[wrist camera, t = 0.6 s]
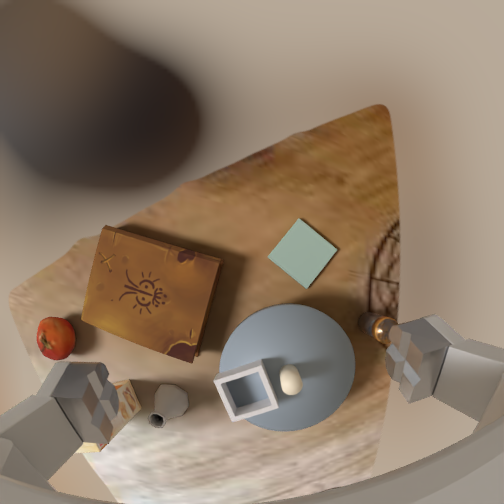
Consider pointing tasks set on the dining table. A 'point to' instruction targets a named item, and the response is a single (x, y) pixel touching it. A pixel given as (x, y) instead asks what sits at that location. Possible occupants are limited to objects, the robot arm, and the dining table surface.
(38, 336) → the tomato
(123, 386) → the coffeecake box
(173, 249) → the diary
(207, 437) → the dining table surface
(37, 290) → the dining table surface
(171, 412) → the flask
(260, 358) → the dial
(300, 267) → the mat
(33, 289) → the dining table surface
